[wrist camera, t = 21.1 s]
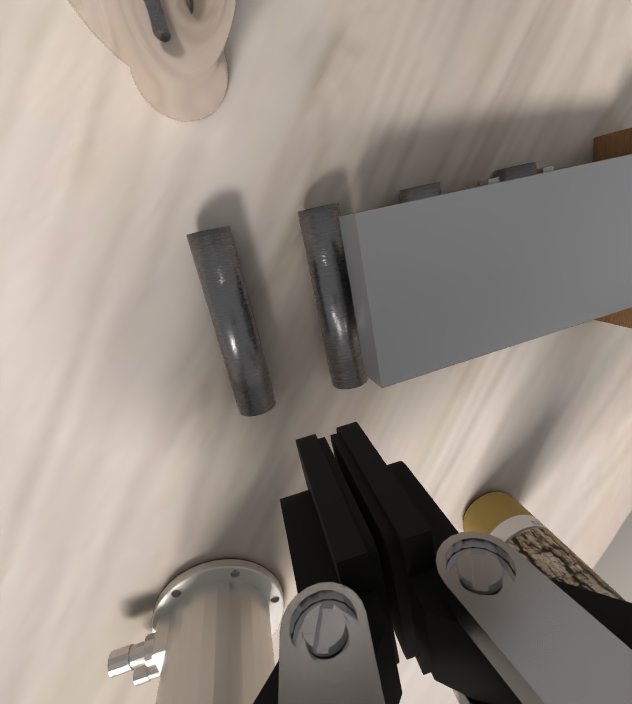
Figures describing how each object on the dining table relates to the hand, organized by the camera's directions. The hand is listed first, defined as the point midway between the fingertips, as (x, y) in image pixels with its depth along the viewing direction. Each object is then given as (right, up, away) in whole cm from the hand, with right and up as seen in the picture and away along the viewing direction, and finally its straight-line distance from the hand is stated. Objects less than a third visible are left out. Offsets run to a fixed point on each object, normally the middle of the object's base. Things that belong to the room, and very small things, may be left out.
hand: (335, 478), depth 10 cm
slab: (+14, +10, +20) cm, 27 cm away
